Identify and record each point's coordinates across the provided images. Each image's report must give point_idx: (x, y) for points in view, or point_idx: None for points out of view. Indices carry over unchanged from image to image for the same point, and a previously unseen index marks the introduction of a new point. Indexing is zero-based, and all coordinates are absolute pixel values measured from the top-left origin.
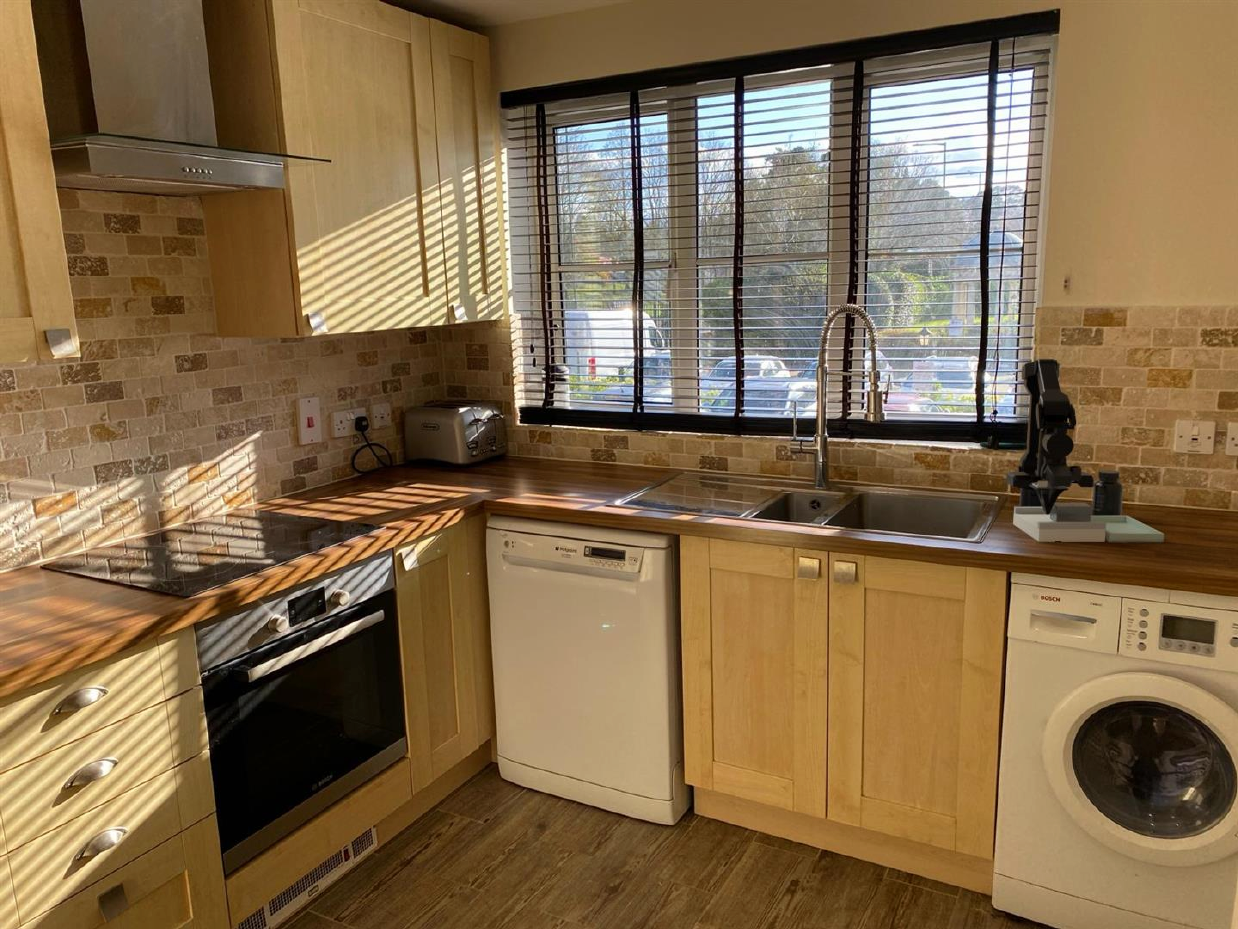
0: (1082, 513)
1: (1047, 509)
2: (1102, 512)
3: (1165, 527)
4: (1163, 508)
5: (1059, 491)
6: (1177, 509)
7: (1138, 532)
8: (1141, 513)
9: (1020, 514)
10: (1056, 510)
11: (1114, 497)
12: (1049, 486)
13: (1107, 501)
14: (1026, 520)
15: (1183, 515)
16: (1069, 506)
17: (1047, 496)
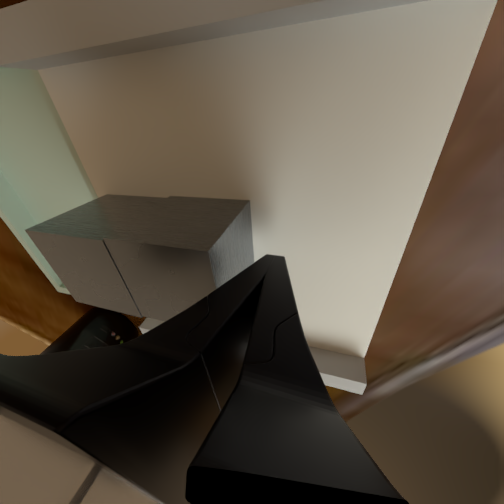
0: (100, 214)
1: (275, 270)
2: (109, 325)
3: (6, 240)
4: (52, 337)
5: (85, 368)
6: (36, 329)
7: (18, 178)
8: (70, 325)
9: (350, 345)
10: (223, 239)
11: (53, 350)
12: (182, 489)
13: (76, 345)
14: (398, 258)
15: (17, 303)
16: (129, 242)
17: (259, 355)
